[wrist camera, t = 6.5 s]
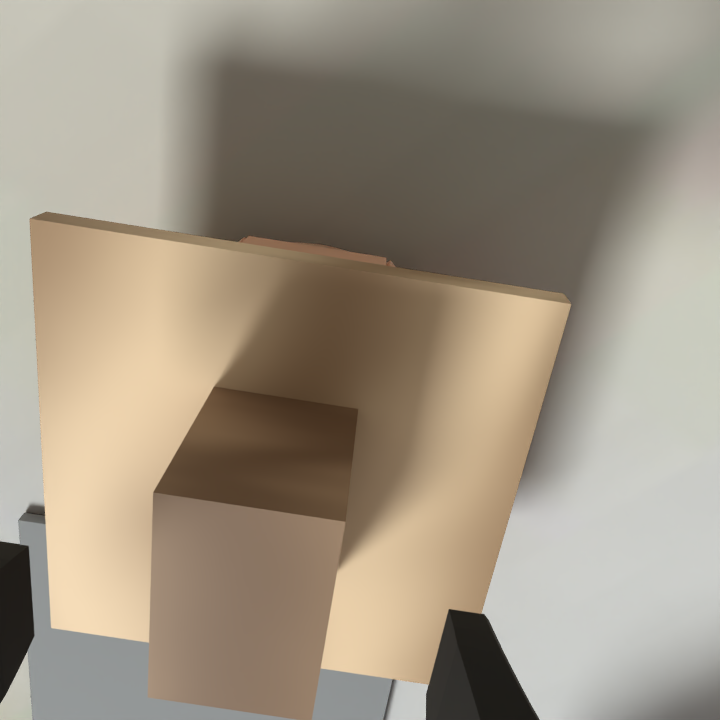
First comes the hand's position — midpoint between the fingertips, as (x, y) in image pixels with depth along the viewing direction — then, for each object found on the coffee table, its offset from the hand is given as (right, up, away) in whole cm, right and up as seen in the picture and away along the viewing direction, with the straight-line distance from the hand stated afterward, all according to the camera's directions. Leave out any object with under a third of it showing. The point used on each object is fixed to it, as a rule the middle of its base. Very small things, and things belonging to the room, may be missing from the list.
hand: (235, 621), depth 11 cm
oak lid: (0, +2, +5) cm, 5 cm away
